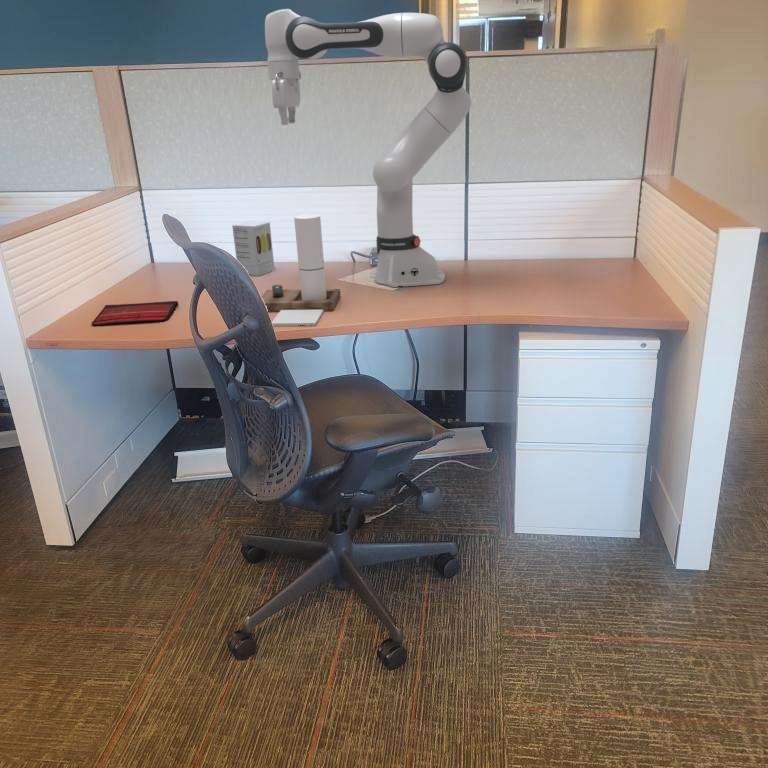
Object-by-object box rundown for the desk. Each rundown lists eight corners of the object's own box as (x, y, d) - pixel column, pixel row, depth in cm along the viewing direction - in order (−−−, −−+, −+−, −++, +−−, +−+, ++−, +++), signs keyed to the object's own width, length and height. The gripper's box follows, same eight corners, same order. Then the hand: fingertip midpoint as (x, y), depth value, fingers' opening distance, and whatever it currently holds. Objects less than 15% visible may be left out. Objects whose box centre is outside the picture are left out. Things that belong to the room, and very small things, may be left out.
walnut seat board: (340, 297, 201) (339, 278, 199) (333, 311, 188) (331, 291, 186) (268, 298, 203) (266, 280, 201) (256, 312, 190) (253, 293, 188)
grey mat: (323, 312, 187) (323, 309, 187) (315, 325, 176) (315, 322, 176) (281, 312, 189) (280, 310, 188) (270, 326, 178) (270, 323, 177)
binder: (105, 304, 198) (177, 299, 199) (107, 311, 199) (179, 307, 200) (88, 323, 183) (166, 318, 185) (90, 331, 184) (168, 326, 186)
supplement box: (258, 276, 229) (252, 226, 222) (237, 274, 233) (230, 225, 226) (275, 270, 236) (270, 221, 230) (254, 268, 240) (249, 220, 234)
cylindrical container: (328, 300, 198) (322, 213, 188) (324, 307, 192) (317, 218, 182) (305, 300, 199) (297, 214, 189) (300, 307, 192) (291, 219, 182)
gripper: (286, 71, 186) (291, 125, 191) (301, 73, 204) (305, 122, 210) (264, 72, 186) (269, 126, 192) (281, 74, 205) (285, 123, 210)
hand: (288, 124), depth 201 cm, fingers open, 8 cm apart
